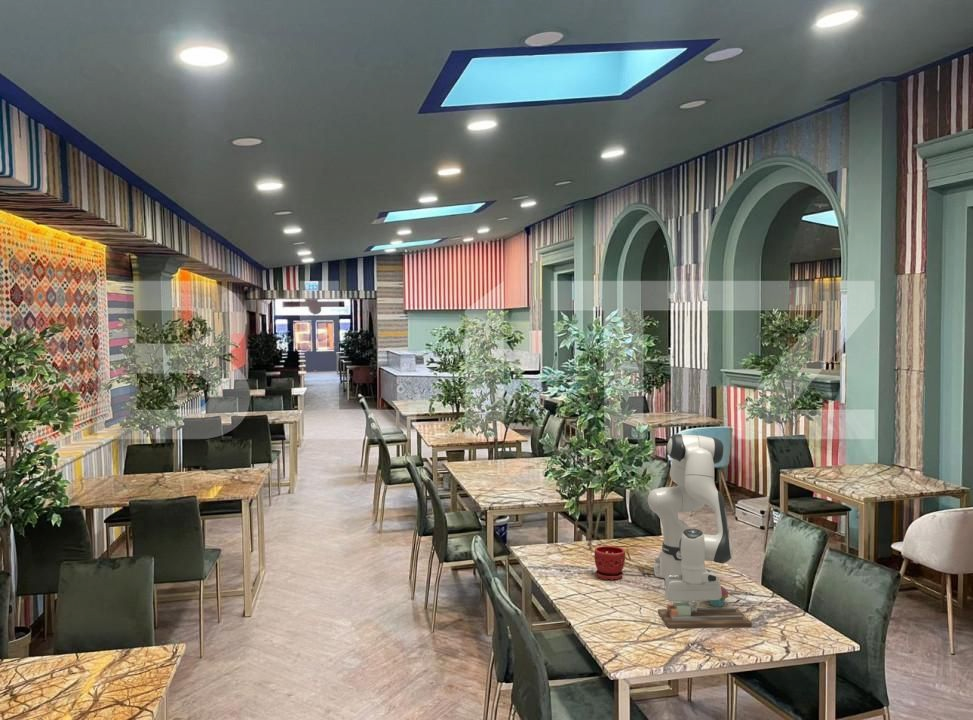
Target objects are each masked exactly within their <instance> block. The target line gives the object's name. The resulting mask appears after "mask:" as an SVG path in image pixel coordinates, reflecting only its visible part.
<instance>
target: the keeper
mask: <svg viewBox="0 0 973 720" xmlns="http://www.w3.org/2000/svg"><path fill="white" fill-rule="evenodd" d="M672 604H673V605H674V606H675V607H676V609H677V610H678V616H691V606H690V605H689V604H688V603H687V601H672Z"/></svg>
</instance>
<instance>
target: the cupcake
mask: <svg viewBox="0 0 973 720" xmlns="http://www.w3.org/2000/svg"><path fill="white" fill-rule="evenodd" d="M721 592H722V597H721V599H720V600H708V601H709V603H710V605H711V606H713V607H715V608H722V607H723V606H724V603H725V601H726V599H727V598H728V597H729V591H728V590H727V589H726V588H725V587H723V586H722V585H721Z"/></svg>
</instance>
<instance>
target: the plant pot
mask: <svg viewBox="0 0 973 720" xmlns="http://www.w3.org/2000/svg"><path fill="white" fill-rule="evenodd" d="M593 553H594V564H595V566H596V569H597V570H595V575H596V576H598V577H599V578H600V579H603V580H607V579H611V580H612V581H613V579H615V580H618V579H621V578H622V577H623V575H624V572H623V569H624V566H625V561H626V550H625V549H623V548H622V547H619V546H612V545H603V546H597V547H595V548H594V552H593Z"/></svg>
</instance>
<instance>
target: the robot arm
mask: <svg viewBox="0 0 973 720" xmlns="http://www.w3.org/2000/svg"><path fill="white" fill-rule="evenodd" d="M666 450H667V455H668V456H669V457H670V458H671V459H672V462H671V465H670V470H669V477H670V479H671V481H672V482H674V483H675V484H676V486H665V487H664V486H663V487H659V488H655V489H651V490H650V492H649V493H648V495H647V504H648V507H649V509H650V510H651V511H652V512H653V513H654V514H655V515H657V517H658V518H659V519H660V522H661V525H662V530H663V531H662V532H663V542H662V546H661V550H662V551H661V552H659V554H658V555H657V557H654V562H655V563H653V564H652V568H654V569H653V574H654V577H656V578H661V579H664V586H665V589H664V590H665V591H664V597H665V599H666V600H667V601H668V602H687V603H688V604H689V605H690V606H691V612H697V609H698V607H699V606H700V604H701V601H709V600H720V599H721V597H722V592H721V586H722V585H721V583H720V582H719V580H720V576H719V575H718V574H717V573H716V572H715V571H714V570H711V569H708V568H706V563H705V561H706V562H714V563H718V564H722V565H723V564H724V565H725V564H726V563H727V562H729V561H730V560H731V559H732V558H733V554H734V553H733V550H734V549H733V548H734V547H733V544H732V541H731V537H730V532H729V530H730V529H729V524H728V517H727V510H726V504H725V500H724V499H725V498H724V496H723V494H722V493H721V492H720V491H718V489H717V487H716V483H715V464H719V463H720V462H721V461H722V459H723V456H724V453H725V449H724V443H723V442H722V440H721V439H718V438H716V437H709V436H705V435H699V434H696V435H695V434H681V433H676V434H671V436H670V437H669V439H668V442H667V446H666ZM705 506H707V507H709V508H710V509H712V511H713V512H714V516H715V517H714V518H715V521H716V530H717V533H716V534H705V533H704V532H703V531H702V530H700V529H698V528H690V526H689V524H688V523H687V522H685V521H684V520H682V519H680V518H679V513H688V512H689V513H691V512H692V513H693V512H696V511H700V510H702V509H704V507H705ZM693 602H694V604H693ZM692 604H693V605H692Z"/></svg>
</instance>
